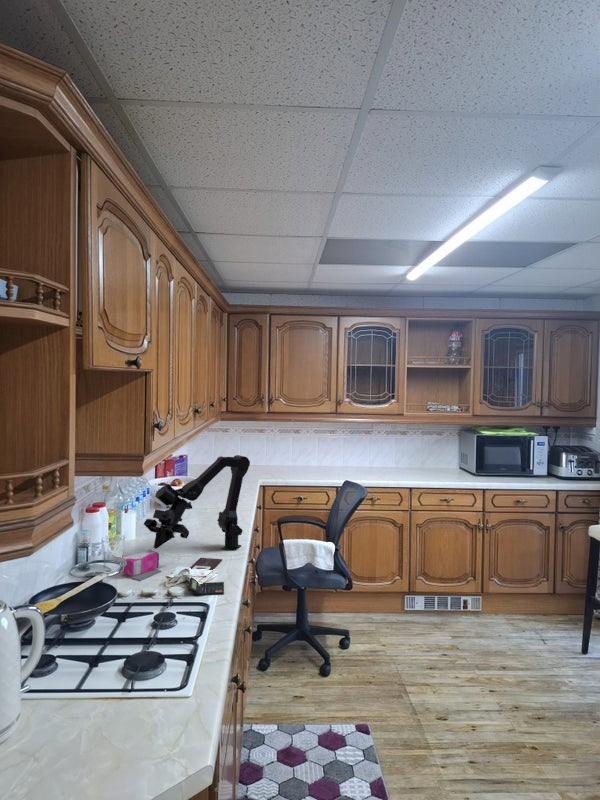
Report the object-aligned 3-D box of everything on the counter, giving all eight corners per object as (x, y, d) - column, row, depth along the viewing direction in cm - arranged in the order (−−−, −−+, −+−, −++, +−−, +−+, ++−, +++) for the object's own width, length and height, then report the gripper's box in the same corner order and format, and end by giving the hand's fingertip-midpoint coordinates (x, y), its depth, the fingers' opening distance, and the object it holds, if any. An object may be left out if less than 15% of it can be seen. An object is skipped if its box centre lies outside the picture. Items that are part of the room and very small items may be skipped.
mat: (142, 567, 182) (142, 566, 182) (160, 571, 178) (160, 570, 178) (121, 576, 174) (121, 574, 174) (140, 580, 169) (140, 579, 169)
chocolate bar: (222, 559, 192) (206, 575, 174) (222, 561, 192) (206, 578, 174) (200, 557, 193) (182, 574, 175) (200, 560, 193) (182, 576, 175)
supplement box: (149, 565, 184) (122, 572, 175) (150, 549, 184) (122, 556, 175) (158, 569, 180) (131, 577, 172) (159, 553, 180) (131, 560, 172)
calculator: (223, 595, 159) (223, 586, 159) (187, 597, 158) (187, 587, 158) (223, 584, 169) (223, 575, 169) (189, 585, 167) (189, 577, 167)
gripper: (147, 498, 191) (125, 533, 181) (184, 503, 182) (163, 540, 172) (161, 513, 198) (140, 548, 188) (197, 520, 189) (178, 556, 179)
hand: (155, 548), depth 182 cm, fingers closed
